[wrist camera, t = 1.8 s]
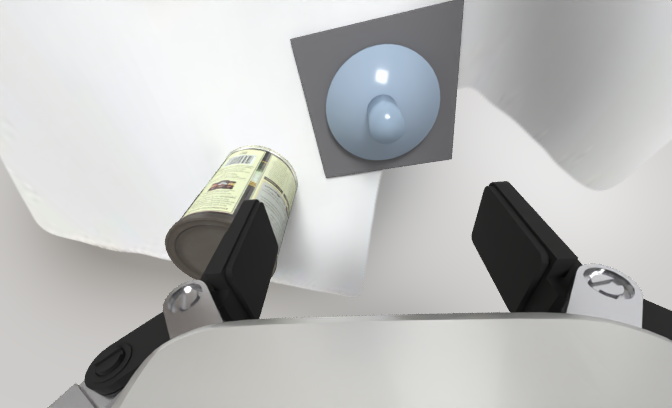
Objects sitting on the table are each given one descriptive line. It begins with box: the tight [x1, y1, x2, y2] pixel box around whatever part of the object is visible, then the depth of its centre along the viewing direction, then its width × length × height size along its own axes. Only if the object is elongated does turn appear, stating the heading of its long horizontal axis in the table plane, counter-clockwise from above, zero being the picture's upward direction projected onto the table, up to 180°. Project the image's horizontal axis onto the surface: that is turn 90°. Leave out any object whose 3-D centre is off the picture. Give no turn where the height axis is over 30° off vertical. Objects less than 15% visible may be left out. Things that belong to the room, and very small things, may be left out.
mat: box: [290, 0, 464, 178], centre depth 29 cm, size 16×16×1 cm
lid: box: [326, 43, 440, 160], centre depth 26 cm, size 12×12×6 cm
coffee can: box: [165, 146, 297, 280], centre depth 30 cm, size 10×10×14 cm
